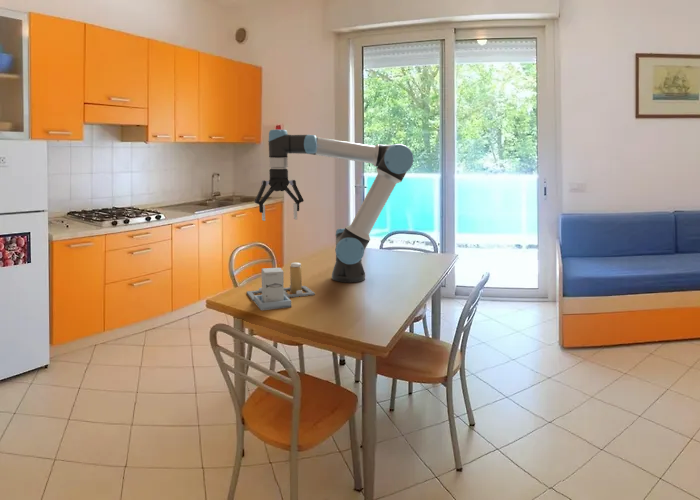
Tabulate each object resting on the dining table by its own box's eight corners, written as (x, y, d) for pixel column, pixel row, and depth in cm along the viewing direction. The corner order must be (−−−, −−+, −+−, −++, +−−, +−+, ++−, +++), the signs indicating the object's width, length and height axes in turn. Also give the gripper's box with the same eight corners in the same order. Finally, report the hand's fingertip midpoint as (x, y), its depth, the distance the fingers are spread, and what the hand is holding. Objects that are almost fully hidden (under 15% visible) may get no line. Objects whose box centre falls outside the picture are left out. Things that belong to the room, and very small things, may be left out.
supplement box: (264, 305, 190) (263, 272, 187) (261, 300, 197) (261, 268, 194) (284, 304, 192) (283, 271, 189) (281, 298, 199) (280, 266, 196)
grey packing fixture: (305, 287, 218) (305, 283, 218) (314, 295, 207) (314, 290, 207) (246, 293, 209) (246, 288, 208) (253, 301, 198) (252, 296, 197)
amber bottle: (299, 290, 213) (299, 261, 211) (303, 293, 209) (302, 264, 207) (289, 291, 212) (288, 262, 209) (292, 294, 207) (291, 265, 205)
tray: (283, 298, 202) (283, 292, 201) (291, 307, 191) (291, 300, 191) (254, 301, 197) (254, 295, 197) (261, 310, 187) (260, 303, 186)
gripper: (305, 167, 219) (305, 217, 223) (246, 168, 209) (248, 220, 213) (310, 168, 212) (311, 219, 216) (250, 168, 203) (251, 222, 207)
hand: (279, 219), depth 215 cm, fingers open, 13 cm apart
